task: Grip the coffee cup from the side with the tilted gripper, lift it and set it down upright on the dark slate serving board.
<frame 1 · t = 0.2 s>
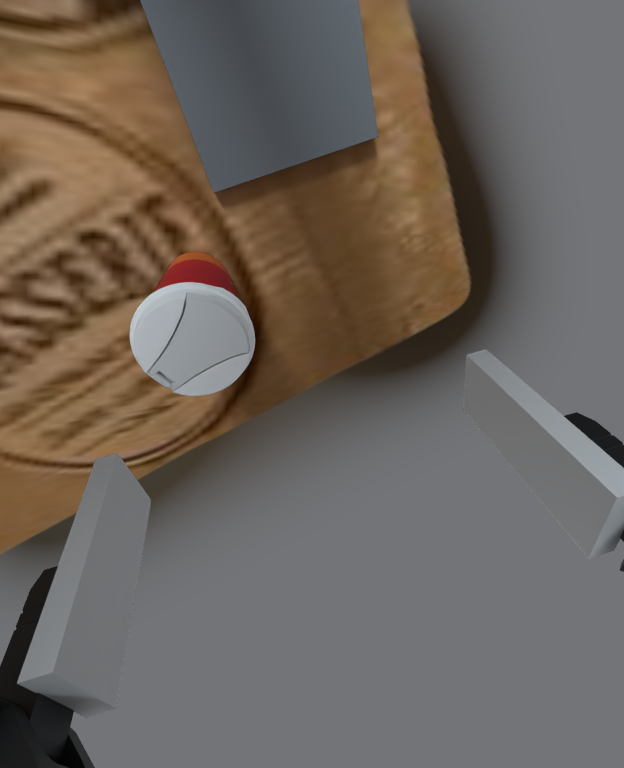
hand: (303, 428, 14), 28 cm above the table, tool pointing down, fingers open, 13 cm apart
slate board: (258, 32, 29), on the table
coffee cup: (199, 281, 38), on the table
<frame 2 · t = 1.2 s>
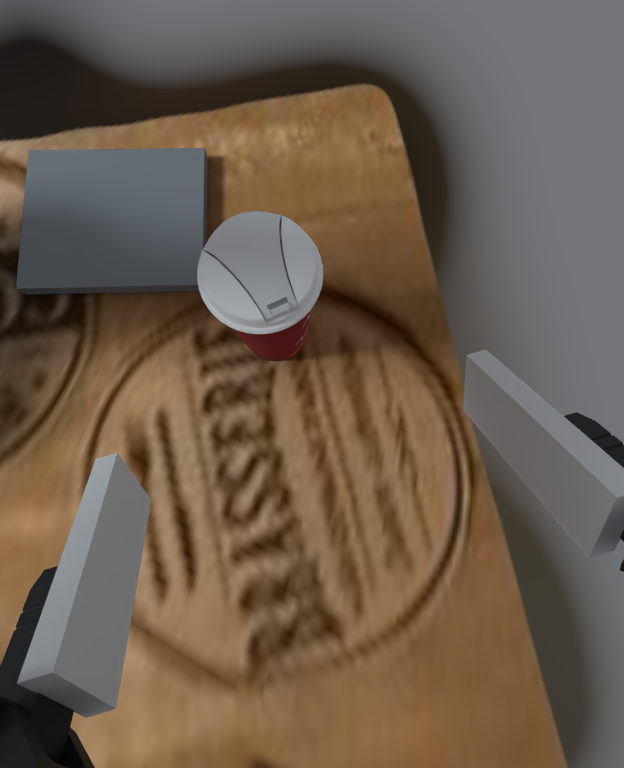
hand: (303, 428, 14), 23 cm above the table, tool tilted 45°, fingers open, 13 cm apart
slate board: (120, 224, 40), on the table
coffee cup: (275, 332, 39), on the table
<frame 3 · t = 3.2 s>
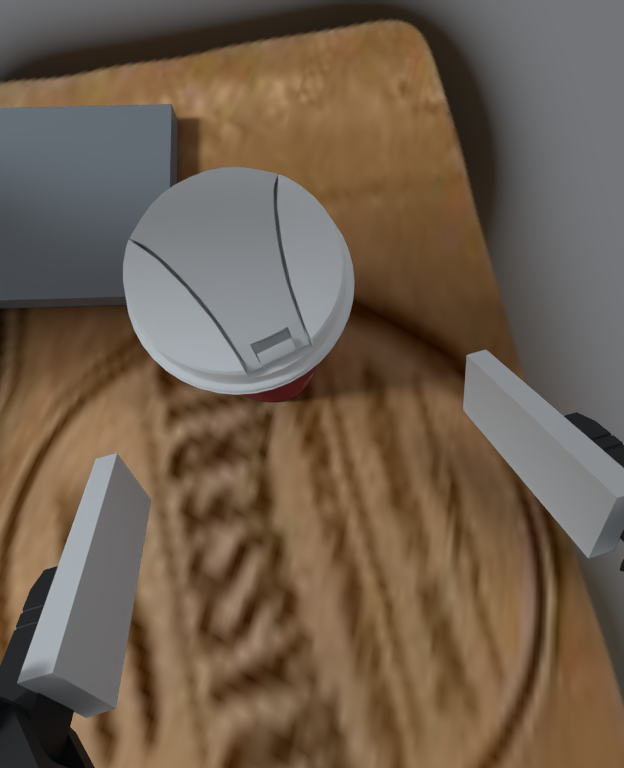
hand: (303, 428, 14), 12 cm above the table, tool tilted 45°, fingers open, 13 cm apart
slate board: (56, 211, 29), on the table
coffee cup: (273, 360, 27), on the table
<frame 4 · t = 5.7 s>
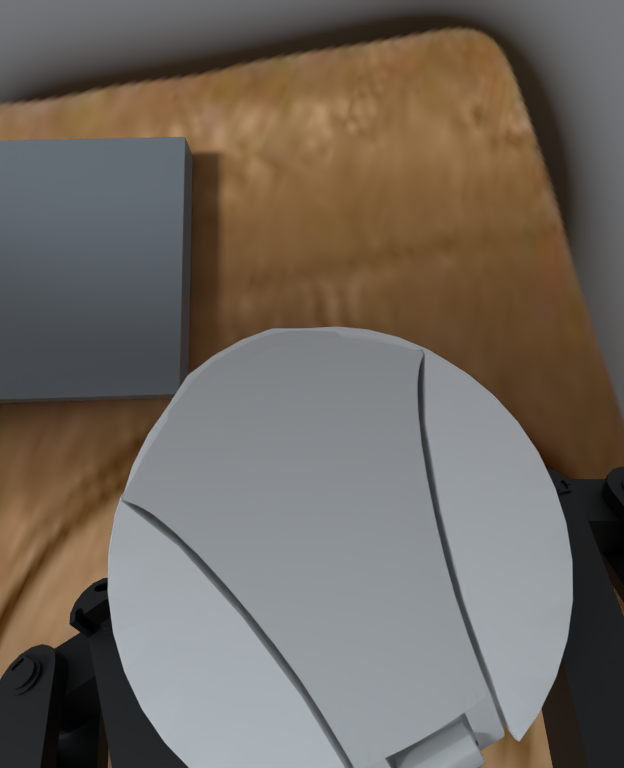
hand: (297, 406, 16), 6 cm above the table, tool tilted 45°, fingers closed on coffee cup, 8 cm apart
slate board: (35, 274, 22), on the table
coffee cup: (316, 475, 21), on the table, touching gripper
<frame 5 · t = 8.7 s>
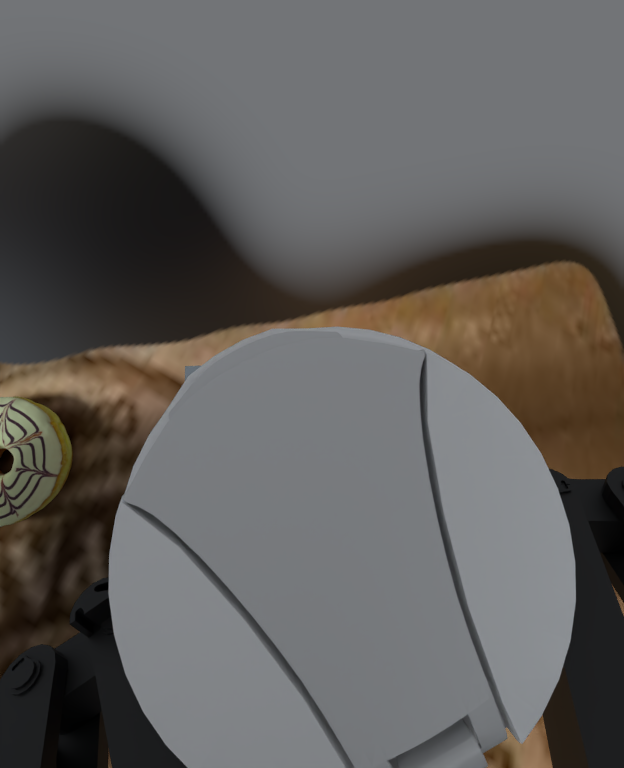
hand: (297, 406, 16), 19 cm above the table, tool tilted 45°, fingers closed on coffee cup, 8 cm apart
decorated donut: (22, 459, 34), on the table
coffee cup: (317, 475, 21), point 13 cm above the table, touching gripper
when the fingers open (9 cm above the table, at t = 11.8 s): coffee cup drops 1 cm, resting on slate board.
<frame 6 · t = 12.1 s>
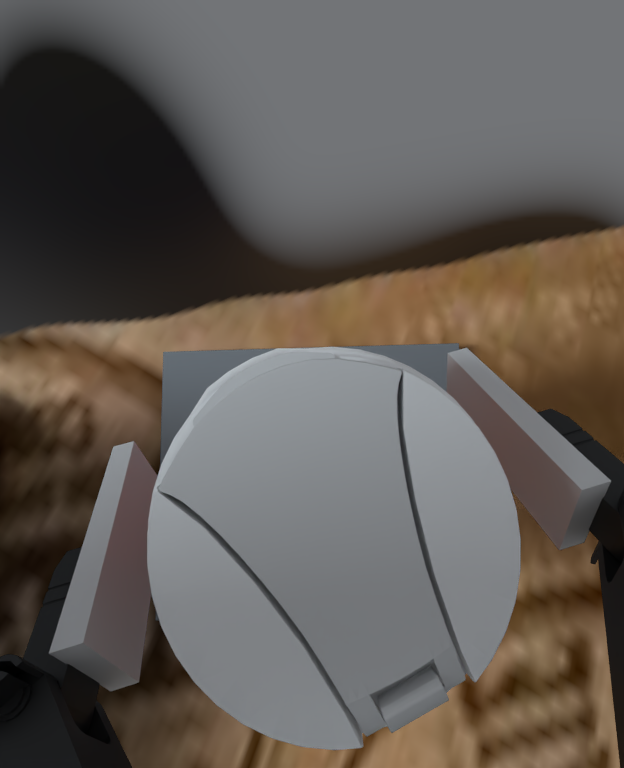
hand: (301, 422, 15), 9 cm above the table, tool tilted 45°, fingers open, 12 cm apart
slate board: (315, 471, 24), on the table
coffee cup: (315, 475, 22), point 1 cm above the table, touching slate board
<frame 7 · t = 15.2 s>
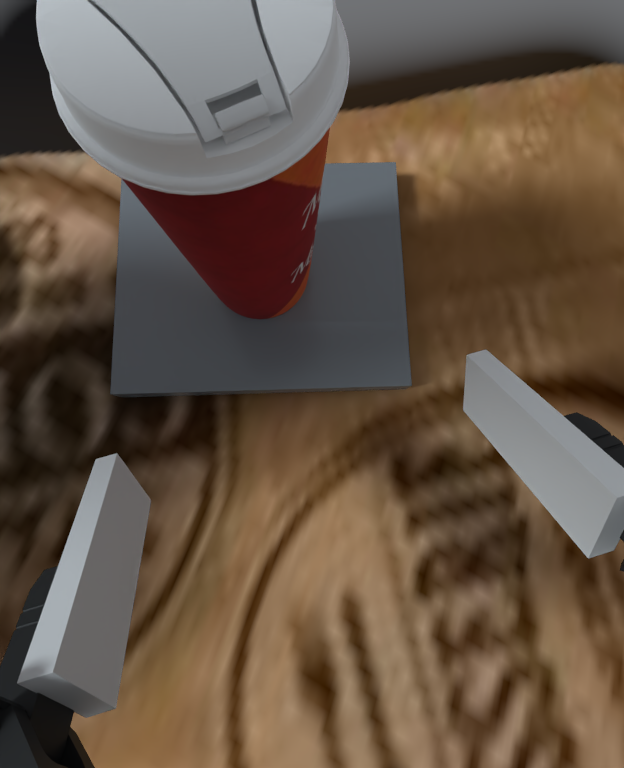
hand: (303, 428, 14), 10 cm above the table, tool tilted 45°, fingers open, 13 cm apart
slate board: (263, 281, 26), on the table
coffee cup: (260, 274, 24), point 1 cm above the table, touching slate board
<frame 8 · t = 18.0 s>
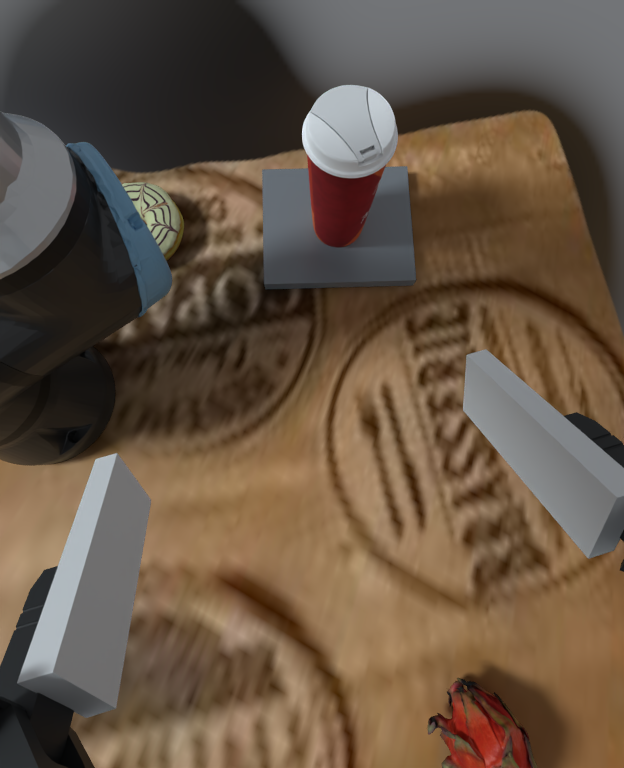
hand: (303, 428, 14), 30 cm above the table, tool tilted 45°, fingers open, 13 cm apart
decorated donut: (144, 237, 48), on the table
slate board: (336, 230, 48), on the table
coffee cup: (337, 225, 47), point 1 cm above the table, touching slate board
dragon fruit: (465, 719, 40), on the table
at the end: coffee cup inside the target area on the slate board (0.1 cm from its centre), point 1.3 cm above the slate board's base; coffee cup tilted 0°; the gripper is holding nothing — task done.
